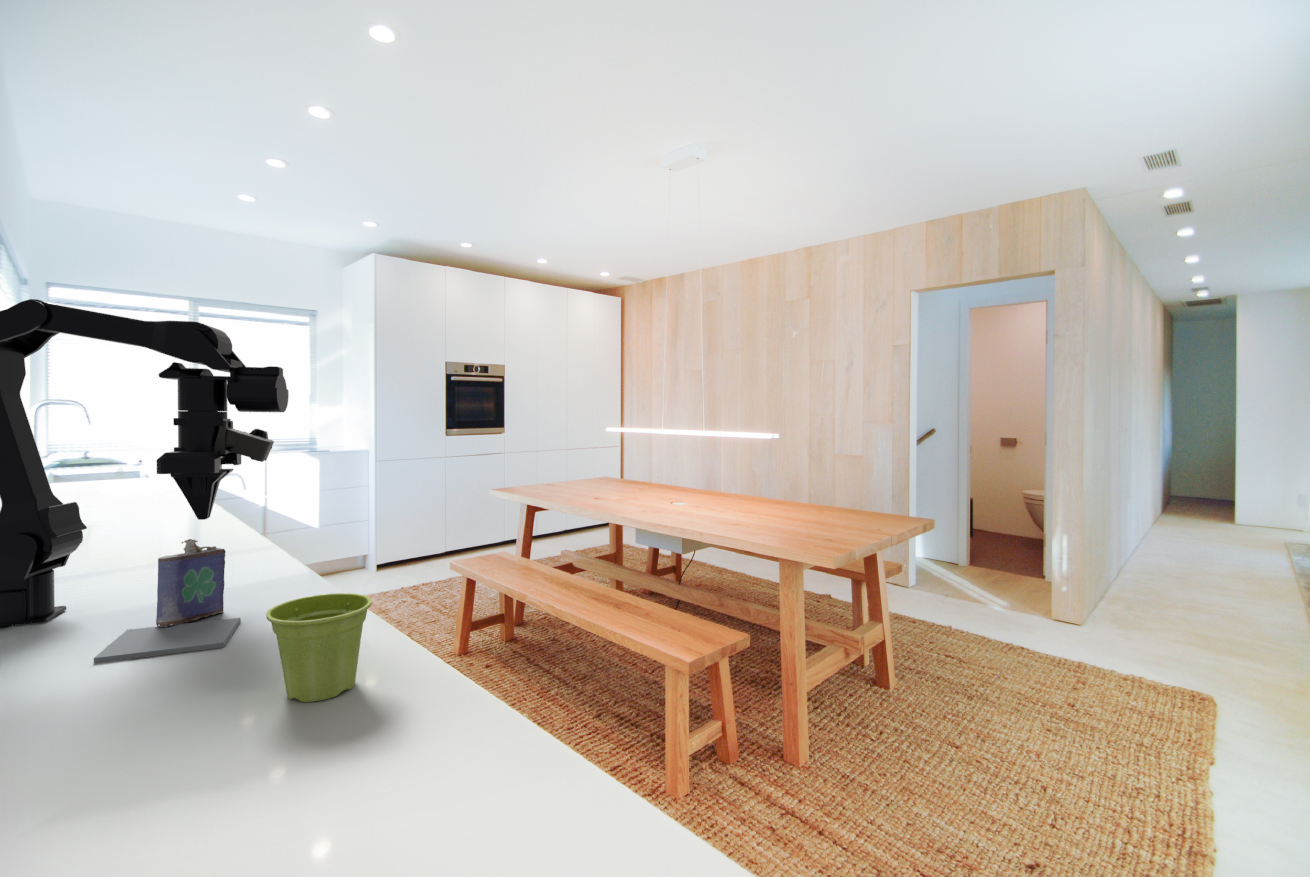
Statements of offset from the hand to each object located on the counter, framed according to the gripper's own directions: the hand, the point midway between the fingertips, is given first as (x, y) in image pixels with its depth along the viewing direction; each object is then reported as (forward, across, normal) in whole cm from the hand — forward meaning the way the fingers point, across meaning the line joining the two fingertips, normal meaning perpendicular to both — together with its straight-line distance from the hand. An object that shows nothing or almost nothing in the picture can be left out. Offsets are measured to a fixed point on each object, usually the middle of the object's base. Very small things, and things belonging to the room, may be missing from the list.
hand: (203, 518), depth 87 cm
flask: (+13, -7, 0) cm, 14 cm away
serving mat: (+13, -14, 0) cm, 19 cm away
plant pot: (+13, -37, -18) cm, 43 cm away
